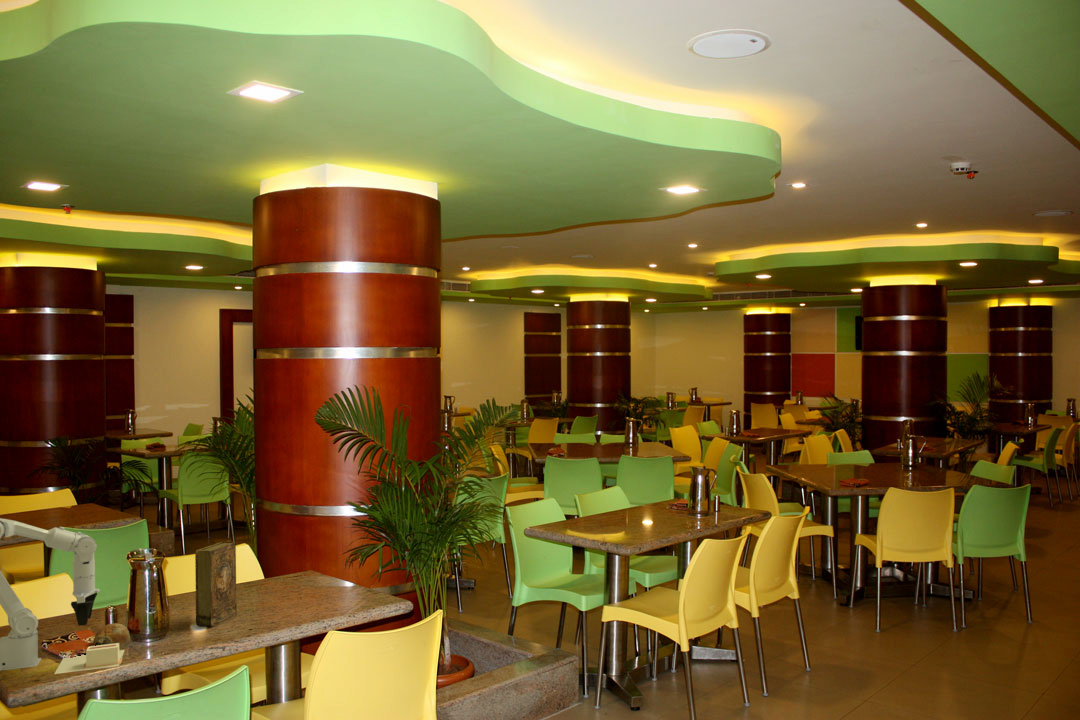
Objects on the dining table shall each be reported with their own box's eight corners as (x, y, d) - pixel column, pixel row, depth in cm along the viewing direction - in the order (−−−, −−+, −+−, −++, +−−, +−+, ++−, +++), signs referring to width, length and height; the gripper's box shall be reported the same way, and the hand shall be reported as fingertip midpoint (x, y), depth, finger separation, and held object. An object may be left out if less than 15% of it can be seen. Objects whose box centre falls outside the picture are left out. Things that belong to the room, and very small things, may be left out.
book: (224, 613, 295) (223, 541, 296) (238, 614, 294) (237, 541, 295) (196, 627, 279) (195, 550, 280) (211, 628, 278) (210, 551, 279)
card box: (117, 663, 242) (117, 647, 242) (86, 667, 239) (86, 650, 239) (119, 658, 246) (119, 642, 247) (88, 662, 244) (88, 646, 244)
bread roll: (129, 656, 263) (140, 630, 265) (97, 649, 256) (109, 622, 258) (116, 650, 269) (127, 624, 272) (84, 643, 262) (96, 617, 265)
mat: (54, 676, 235) (54, 673, 235) (64, 658, 250) (64, 656, 250) (120, 667, 240) (120, 665, 240) (125, 651, 255) (125, 649, 255)
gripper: (95, 579, 249) (96, 626, 249) (102, 569, 263) (102, 614, 263) (68, 582, 247) (68, 629, 246) (76, 572, 260) (76, 616, 260)
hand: (84, 621), depth 254 cm, fingers open, 7 cm apart
